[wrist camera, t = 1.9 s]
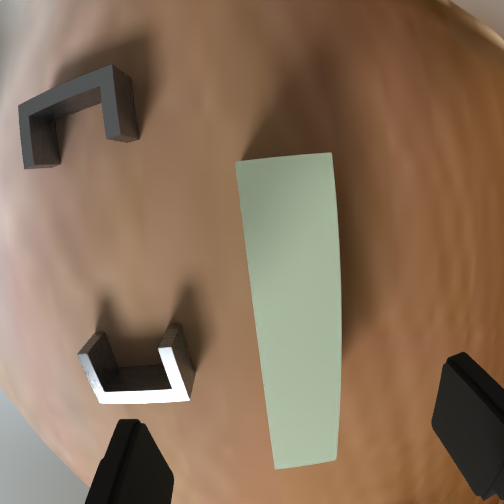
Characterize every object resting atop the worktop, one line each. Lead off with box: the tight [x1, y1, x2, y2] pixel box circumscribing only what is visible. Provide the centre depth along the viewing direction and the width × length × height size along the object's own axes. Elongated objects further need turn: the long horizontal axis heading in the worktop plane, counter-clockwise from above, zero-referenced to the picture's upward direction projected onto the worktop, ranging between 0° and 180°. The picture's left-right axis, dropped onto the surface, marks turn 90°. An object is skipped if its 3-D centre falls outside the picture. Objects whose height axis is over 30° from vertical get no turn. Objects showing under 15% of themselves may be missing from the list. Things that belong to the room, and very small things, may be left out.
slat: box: [235, 152, 342, 469], centre depth 17 cm, size 4×16×7 cm, turn 7°
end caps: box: [18, 64, 196, 403], centre depth 17 cm, size 6×20×3 cm, turn 10°
